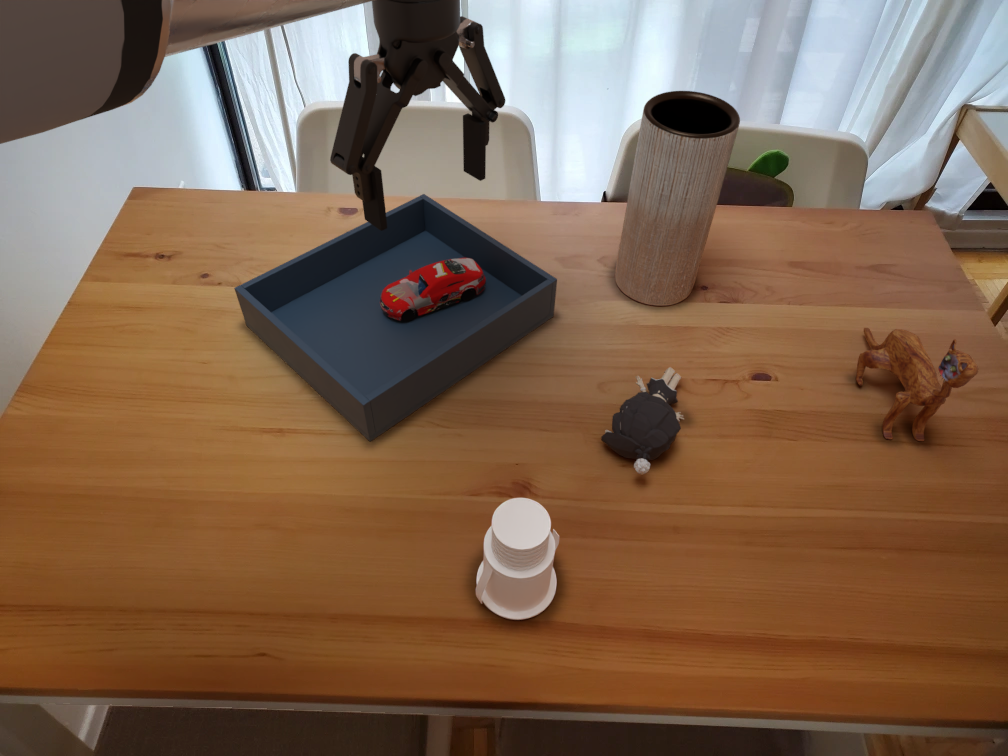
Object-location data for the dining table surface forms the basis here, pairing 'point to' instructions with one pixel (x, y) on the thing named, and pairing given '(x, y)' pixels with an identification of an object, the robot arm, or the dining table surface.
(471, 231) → the tote
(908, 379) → the cat figurine
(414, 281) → the race car
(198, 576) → the dining table surface
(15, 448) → the dining table surface
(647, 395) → the figurine
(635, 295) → the planter
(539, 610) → the downlight
